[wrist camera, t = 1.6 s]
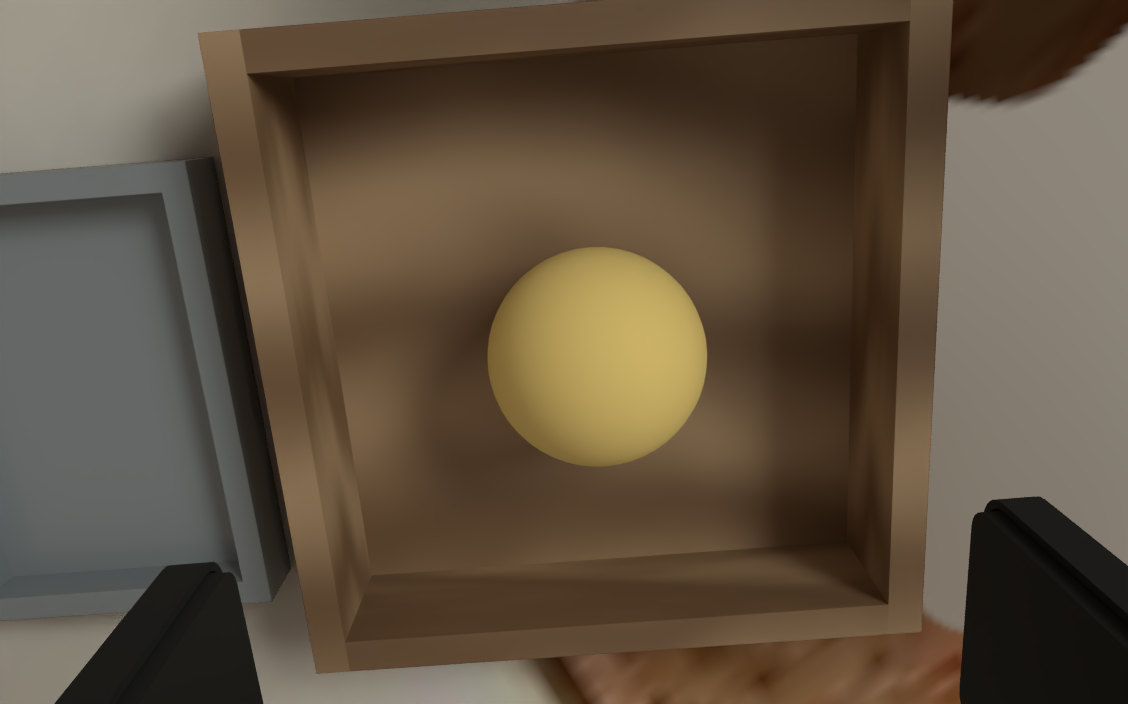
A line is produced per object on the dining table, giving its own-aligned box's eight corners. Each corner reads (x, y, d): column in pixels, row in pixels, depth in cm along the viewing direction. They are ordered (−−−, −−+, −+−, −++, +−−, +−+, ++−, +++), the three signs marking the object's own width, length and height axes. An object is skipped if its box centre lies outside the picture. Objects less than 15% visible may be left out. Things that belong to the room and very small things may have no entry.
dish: (290, 569, 29) (271, 601, 27) (6, 589, 29) (-33, 623, 27) (213, 156, 25) (184, 161, 23) (-115, 182, 25) (-171, 188, 24)
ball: (692, 412, 27) (728, 496, 21) (505, 426, 27) (490, 513, 21) (686, 224, 25) (723, 259, 19) (485, 240, 25) (464, 279, 19)
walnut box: (867, 553, 29) (921, 631, 25) (352, 590, 29) (316, 673, 25) (883, -5, 24) (954, -28, 20) (261, 45, 24) (197, 33, 20)
